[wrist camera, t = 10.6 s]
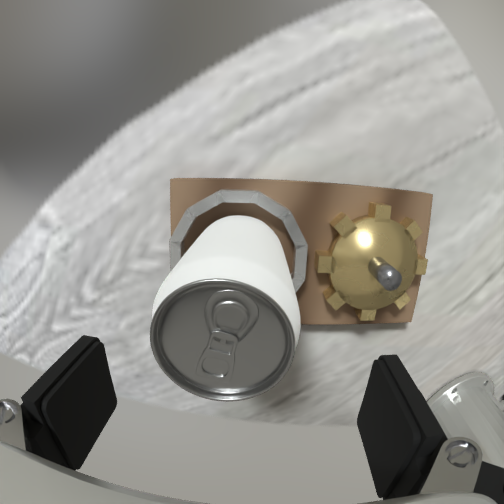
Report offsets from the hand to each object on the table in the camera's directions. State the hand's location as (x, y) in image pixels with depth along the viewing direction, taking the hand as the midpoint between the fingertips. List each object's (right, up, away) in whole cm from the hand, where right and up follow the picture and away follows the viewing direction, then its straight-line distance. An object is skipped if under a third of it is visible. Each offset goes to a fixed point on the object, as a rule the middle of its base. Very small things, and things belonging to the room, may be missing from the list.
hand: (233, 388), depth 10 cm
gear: (+10, +4, +13) cm, 17 cm away
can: (0, +4, +14) cm, 14 cm away
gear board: (+5, +4, +15) cm, 16 cm away
